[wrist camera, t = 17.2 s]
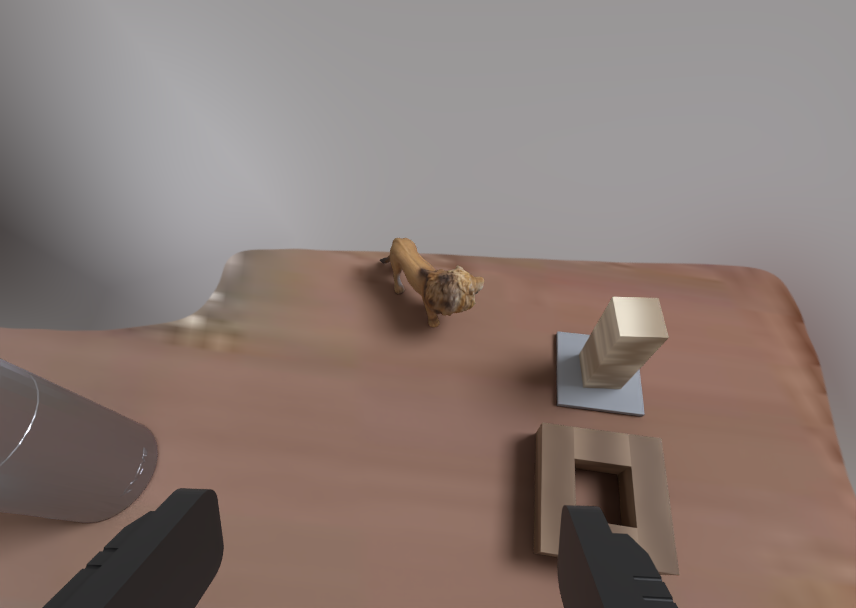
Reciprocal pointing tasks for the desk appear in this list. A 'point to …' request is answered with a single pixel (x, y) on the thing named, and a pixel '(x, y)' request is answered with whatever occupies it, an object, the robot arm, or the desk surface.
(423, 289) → the lion figurine
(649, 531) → the socket block
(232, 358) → the desk surface
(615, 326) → the birch peg
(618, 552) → the robot arm
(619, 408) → the slate mat
